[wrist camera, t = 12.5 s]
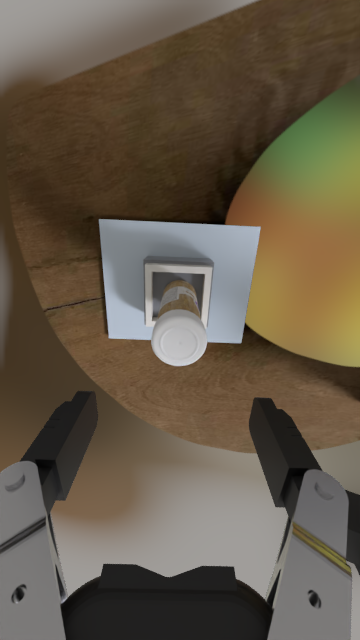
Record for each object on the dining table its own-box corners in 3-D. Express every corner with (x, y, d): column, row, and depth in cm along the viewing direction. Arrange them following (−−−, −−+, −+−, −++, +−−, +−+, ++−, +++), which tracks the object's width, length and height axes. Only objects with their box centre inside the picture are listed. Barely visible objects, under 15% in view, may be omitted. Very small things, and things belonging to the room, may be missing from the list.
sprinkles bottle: (202, 300, 30) (218, 351, 18) (174, 317, 31) (171, 377, 19) (184, 272, 29) (188, 306, 17) (155, 290, 30) (138, 336, 17)
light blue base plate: (258, 226, 31) (277, 226, 26) (240, 341, 38) (250, 361, 32) (100, 219, 31) (82, 217, 25) (110, 336, 38) (97, 355, 32)
